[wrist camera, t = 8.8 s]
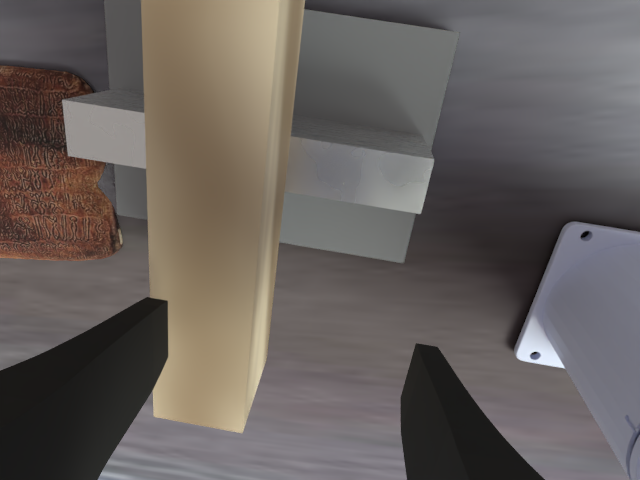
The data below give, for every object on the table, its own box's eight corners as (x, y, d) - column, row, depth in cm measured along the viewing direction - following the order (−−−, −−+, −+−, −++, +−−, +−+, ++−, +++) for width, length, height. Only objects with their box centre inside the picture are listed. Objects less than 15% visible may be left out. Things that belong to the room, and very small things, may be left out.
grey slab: (453, 32, 18) (460, 32, 17) (401, 249, 23) (403, 263, 21) (121, -17, 19) (102, -21, 18) (132, 204, 23) (117, 214, 22)
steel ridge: (422, 135, 19) (434, 159, 15) (412, 181, 20) (421, 214, 16) (120, 87, 19) (61, 99, 16) (123, 134, 20) (67, 156, 16)
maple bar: (314, -89, 13) (291, -138, 9) (266, 358, 19) (242, 433, 16) (203, -104, 13) (136, -159, 9) (194, 345, 20) (153, 416, 16)
